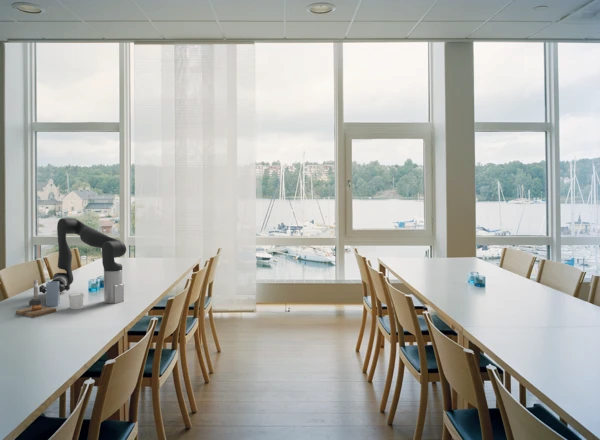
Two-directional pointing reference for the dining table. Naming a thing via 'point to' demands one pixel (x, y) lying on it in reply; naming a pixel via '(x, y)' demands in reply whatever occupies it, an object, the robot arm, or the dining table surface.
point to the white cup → (76, 300)
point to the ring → (36, 301)
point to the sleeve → (52, 293)
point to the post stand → (36, 306)
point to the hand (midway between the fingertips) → (52, 290)
